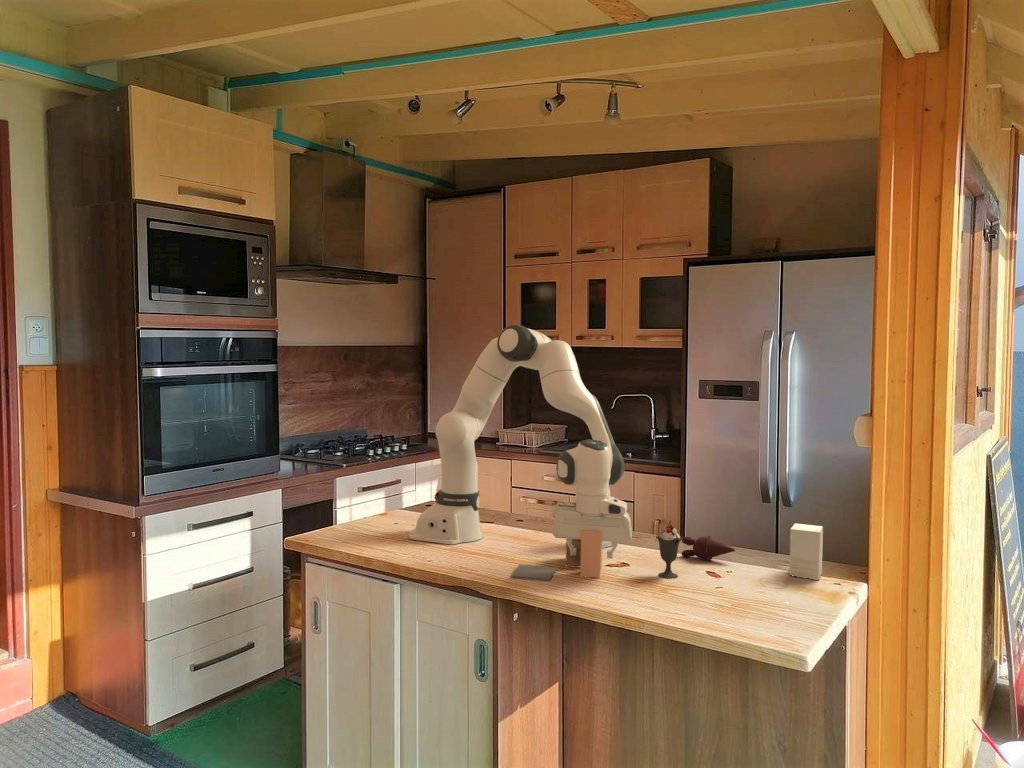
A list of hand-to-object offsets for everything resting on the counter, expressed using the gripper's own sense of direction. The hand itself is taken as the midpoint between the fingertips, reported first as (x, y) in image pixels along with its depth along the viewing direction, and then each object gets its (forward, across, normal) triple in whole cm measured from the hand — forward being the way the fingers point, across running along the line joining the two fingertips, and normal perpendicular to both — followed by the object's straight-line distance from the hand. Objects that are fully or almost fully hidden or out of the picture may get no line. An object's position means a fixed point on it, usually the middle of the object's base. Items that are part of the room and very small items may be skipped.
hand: (591, 556), depth 204 cm
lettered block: (+5, -4, +10) cm, 12 cm away
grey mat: (+5, -14, -3) cm, 16 cm away
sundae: (+5, +20, +4) cm, 20 cm away
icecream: (+5, +30, +22) cm, 37 cm away
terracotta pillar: (+5, 0, 0) cm, 5 cm away
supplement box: (+5, +54, +14) cm, 56 cm away
